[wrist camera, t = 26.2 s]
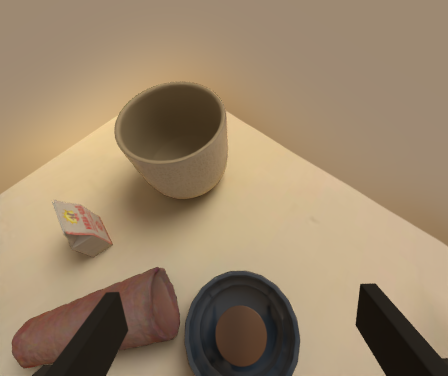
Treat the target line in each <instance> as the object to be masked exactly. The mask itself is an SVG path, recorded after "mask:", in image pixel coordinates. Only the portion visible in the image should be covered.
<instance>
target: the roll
mask: <svg viewBox="0 0 448 376" xmlns="http://www.w3.org/2000/svg"><path fill="white" fill-rule="evenodd" d="M215 336H216V343H217V347H218V349H219V351H220V353H221V355H222V356H223V357H224V358H225V359H226V360H227V361H228V362H229V363H231V364H233V365H235V366H239V367H245V366H249V365H252V364H254V363H255V362H256V361H258V360H259V358H260V357H261V356H262V354H263V352H264V350H265V347H266V343H267V332H266V327H265V324H264V322H263V320H262V318H261V317H260V315H259V314H258V313H257V312H256V311H254V310H253V309H251V308H249V307H247V306H240V305H239V306H234V307H231V308H229V309H227V310H226V311H225V312H224V313H223V314H222V315H221V317H220V319H219V321H218V323H217V326H216V334H215Z"/></svg>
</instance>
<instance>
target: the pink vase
mask: <svg viewBox="0 0 448 376" xmlns="http://www.w3.org/2000/svg"><path fill="white" fill-rule="evenodd" d="M106 292H119V293H120V297H121V301H122V305H123V309H124V313H125V318H126V322H127V326H128V332H127V334H126V336H125V338H124V340H123V342H122V344H121V346H120V348H119V350H125V349H127V348H133V347H138V346H144V345H149V344H152V343H153V342H162V341H167V340H172V339H173V338H174V337H175V336H177V333H178V329H179V325H180V313H179V309H178V304H177V297H176V295H175V292H174V288H173V285H172V284H171V282H170V281H169V278H168V276H167V274H166V271H165V269H163V268H158V267H156V268H153V269H150V270H148V271H146V272H144V273H142V274H138V275H136V276H133V277H131V278H128V279H126V280H124V281H122V282H118V283H115V284H113V285H111V286H109V287H107V288H105V289H101V290H98V291H96V292H94V293H91V294H89V295H87V296H85V297H83V298H80V299H77V300H75V301H73V302H71V303H69V304H65V305H63V306H60V307H58V308H56V309H54V310H51V311H48V312H45V313H43V314H41V315H39V316H37V317H33V318H31V319H29V320H28V321H27V322H25V324H24V325H23V326H22V327H21V328H20V329H19V330H18V331H17V333H16V334H15V335H14V337H13V340H12V354H13V356H14V358H15V359H16V360H17V362H18V363H19V365H20V366H21V367H23V368H31V367H35V366H38V365H44V364H50V363H54V362H55V360H56V359H57V358H58V356H59V355H60V354H61V352H62V351H63V350H64V348H65V347H66V346H67V344H68V343H69V342H70V340H71V339H72V337H73V336H74V335H75V333H76V332H77V331H78V329H79V328H80V327H81V325H82V324H83V323H84V321H85V320H86V319H87V317H88V316H89V315H90V313H91V312H92V311H93V309H94V308H95V307H96V305H97V304H98V302H99V301H100V300H101V298H102V297H103V296H104V294H105V293H106Z"/></svg>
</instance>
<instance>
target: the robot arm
mask: <svg viewBox="0 0 448 376" xmlns="http://www.w3.org/2000/svg"><path fill="white" fill-rule="evenodd" d="M356 327H357V328H358V330H359V332H360V333H361V335H362V337H363V338H364V340H365V341H366V343H367V345H368V346H369V348H370V350H371V351H372V353H373V355H374V356H375V358H376V360H377V361H378V363H379V365H380V366H381V368H382V370H383V371H384V373H385V375H386V376H448V358H445V359H442V358H441V357H440V356H439V355H438V354H437V353H436V351H435V350H434V349H433V348H432V347H431V346H430V345H429V344H428V342H427V341H426V340H425V339H424V338H423V337H422V336H421V335H420V333H419V332H418V331H417V330H416V329H415V328H414V327H413V325H412V324H411V323H410V322H409V321H408V320H407V319H406V318H405V316H404V315H403V314H402V313H401V312H400V311H399V310H398V308H397V307H396V306H395V305H394V304H393V303H392V302H391V301H390V299H389V298H388V297H387V296H386V295H385V294H384V293H383V292H382V290H381V289H380V288H379V287H378V286H377V285H376V284H360V292H359V300H358V309H357V317H356ZM127 332H128V326H127V322H126V318H125V313H124V309H123V305H122V301H121V297H120V293H119V292H106V293H105V294H104V296H103V297H102V298H101V300H100V301H99V302H98V304H97V305H96V307H95V308H94V309H93V311H92V312H91V313H90V315H89V316H88V317H87V319H86V320H85V321H84V323H83V324H82V325H81V327H80V328H79V329H78V331H77V332H76V333H75V335H74V336H73V337H72V339H71V340H70V342H69V343H68V344H67V346H66V347H65V348H64V350H63V351H62V352H61V354H60V355H59V356H58V358H57V359H56V360H55V362H54V363H53V364H52V365H43V366H42V367H41V368H40V369H39V370H38V371H36V372H35V373H34V374H33V375H32V376H106V374H107V372H108V370H109V368H110V366H111V364H112V362H113V360H114V358H115V356H116V354H117V352H118V350H119V348H120V346H121V344H122V342H123V340H124V338H125V336H126V334H127Z"/></svg>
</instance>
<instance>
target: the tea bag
mask: <svg viewBox="0 0 448 376" xmlns="http://www.w3.org/2000/svg"><path fill="white" fill-rule="evenodd" d="M52 203H53V202H52ZM53 206H54V209H55V212H56V214H57V217H58V220H59V223H60V225H61V228H62V231H63V234H64V235H65V236H66V237H67V239H68V241H69V244H70V247H71V249H72V250H75V251H78V252H80V253H83V254H86V255H89V256H92V257H95V256H96V255H98V254H99V253H101V252H103V251H104V250H106V249H107V248H109V247H110V246H112V245H113V244H112V242H111V240H110V238H109V236H108V234H107V232H106V229H105V227H104V225H103V223H102V221H101V219H100V217H99V216H97V215H96V214H94V213H93V212H91V211H90V210H88V209H86V208H85V207H83V206H82V205H80V204H73V203H66V202H61V201H57V200H54V203H53Z"/></svg>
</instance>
